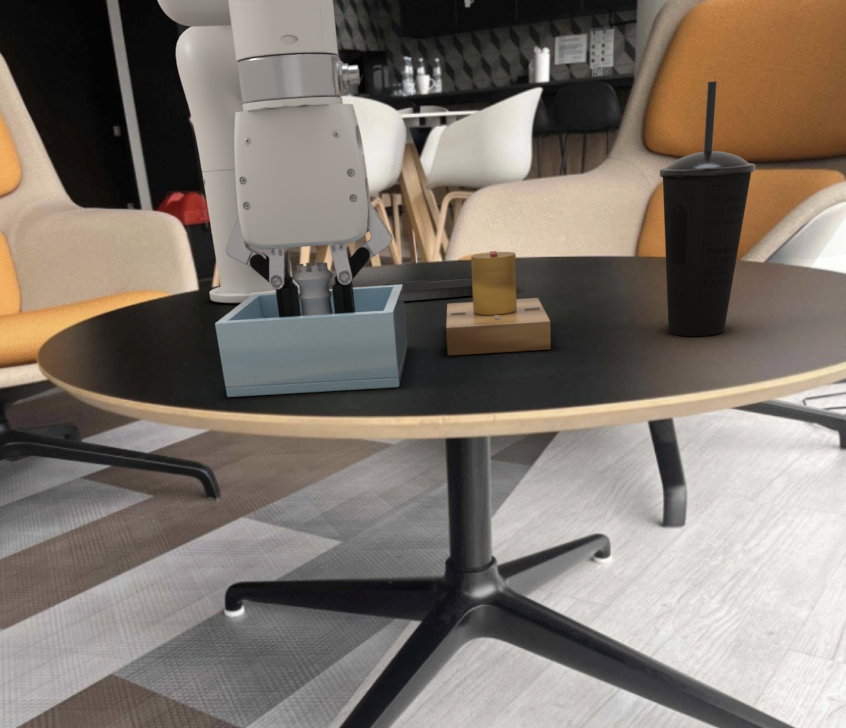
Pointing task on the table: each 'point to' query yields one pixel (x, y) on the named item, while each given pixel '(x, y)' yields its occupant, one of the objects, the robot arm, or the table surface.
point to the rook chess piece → (314, 288)
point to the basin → (314, 345)
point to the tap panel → (497, 329)
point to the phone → (436, 288)
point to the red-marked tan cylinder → (494, 283)
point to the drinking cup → (703, 232)
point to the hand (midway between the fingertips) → (319, 331)
